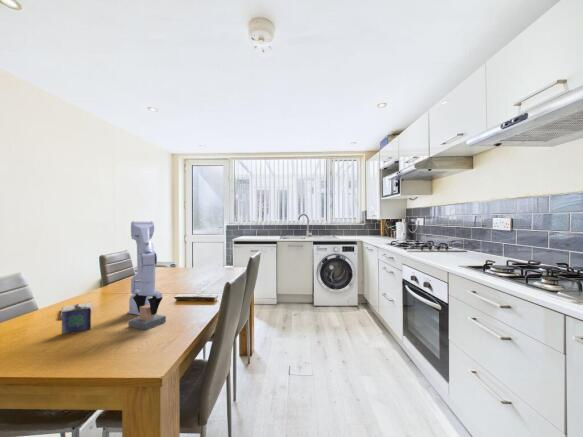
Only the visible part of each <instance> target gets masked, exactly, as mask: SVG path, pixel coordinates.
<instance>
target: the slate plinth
mask: <svg viewBox="0 0 583 437" xmlns="http://www.w3.org/2000/svg"><path fill="white" fill-rule="evenodd" d="M166 322H167V320H166V315H162V314H157V313H156V314H154V318H151V319H148V320H143V319H140V316H137V317H134V318H131V319H129V320H128V327H130V328H135V329H139V330H143V331H146V330H149V329H152V328H154V327H157V326H159V325H161V324H164V323H166Z"/></svg>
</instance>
